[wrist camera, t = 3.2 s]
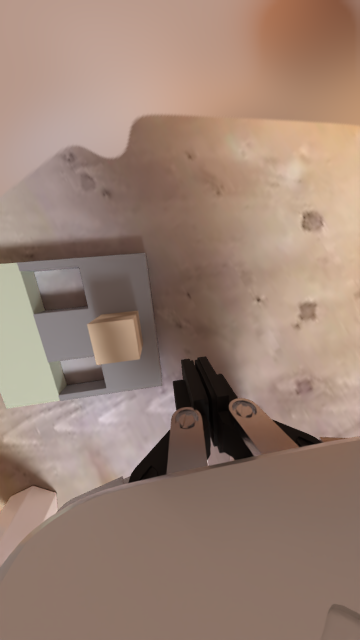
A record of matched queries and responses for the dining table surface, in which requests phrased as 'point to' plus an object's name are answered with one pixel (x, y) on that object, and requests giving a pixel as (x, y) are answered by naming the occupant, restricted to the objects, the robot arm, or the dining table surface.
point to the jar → (24, 516)
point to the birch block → (116, 337)
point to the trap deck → (72, 329)
